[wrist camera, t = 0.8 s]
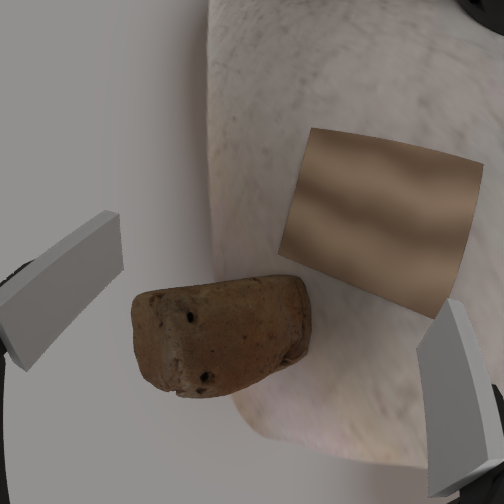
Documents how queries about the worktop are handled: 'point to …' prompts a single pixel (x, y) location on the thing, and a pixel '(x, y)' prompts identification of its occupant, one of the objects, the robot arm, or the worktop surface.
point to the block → (220, 333)
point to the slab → (383, 216)
